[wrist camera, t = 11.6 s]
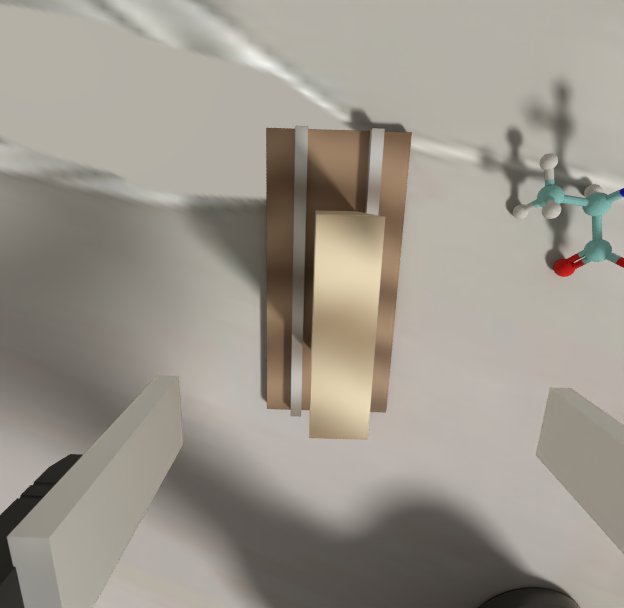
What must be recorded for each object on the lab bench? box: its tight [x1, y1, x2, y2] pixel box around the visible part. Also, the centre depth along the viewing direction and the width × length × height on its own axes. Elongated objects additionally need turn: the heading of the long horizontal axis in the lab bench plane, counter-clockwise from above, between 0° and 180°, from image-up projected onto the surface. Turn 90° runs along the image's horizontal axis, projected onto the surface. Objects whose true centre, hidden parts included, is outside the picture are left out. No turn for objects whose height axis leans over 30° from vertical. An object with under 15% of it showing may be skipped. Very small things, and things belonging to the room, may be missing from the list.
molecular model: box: [513, 154, 624, 277], centre depth 30 cm, size 12×10×10 cm
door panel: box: [309, 210, 385, 440], centre depth 27 cm, size 13×4×14 cm, turn 178°
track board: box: [266, 126, 412, 416], centre depth 34 cm, size 26×12×2 cm, turn 178°
